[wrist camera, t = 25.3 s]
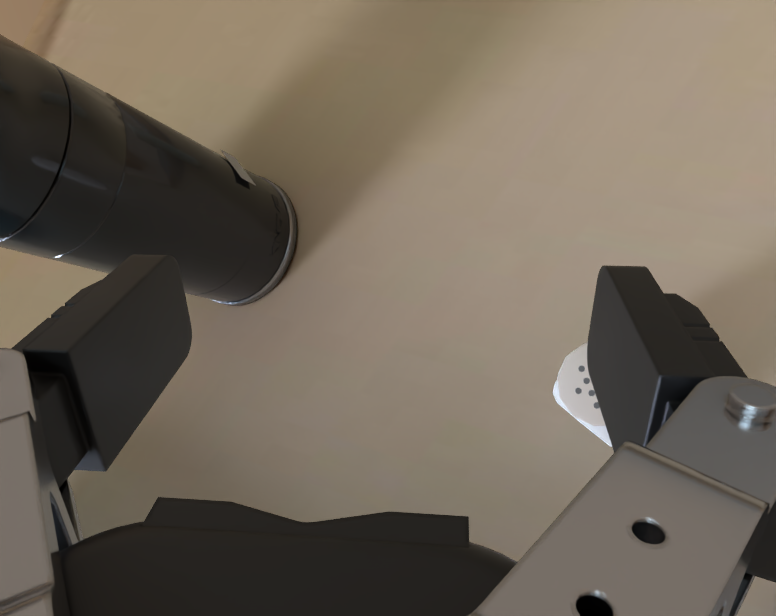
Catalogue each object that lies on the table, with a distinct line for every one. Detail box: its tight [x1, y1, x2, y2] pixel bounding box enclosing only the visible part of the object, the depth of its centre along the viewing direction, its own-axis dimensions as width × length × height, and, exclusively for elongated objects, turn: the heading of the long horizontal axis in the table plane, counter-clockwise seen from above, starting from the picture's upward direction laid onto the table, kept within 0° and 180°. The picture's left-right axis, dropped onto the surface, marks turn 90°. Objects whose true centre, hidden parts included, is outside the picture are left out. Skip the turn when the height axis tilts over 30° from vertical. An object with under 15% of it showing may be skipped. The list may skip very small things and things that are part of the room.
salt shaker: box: [553, 342, 612, 447], centre depth 27 cm, size 4×4×10 cm
